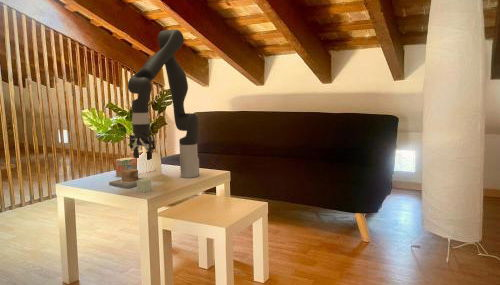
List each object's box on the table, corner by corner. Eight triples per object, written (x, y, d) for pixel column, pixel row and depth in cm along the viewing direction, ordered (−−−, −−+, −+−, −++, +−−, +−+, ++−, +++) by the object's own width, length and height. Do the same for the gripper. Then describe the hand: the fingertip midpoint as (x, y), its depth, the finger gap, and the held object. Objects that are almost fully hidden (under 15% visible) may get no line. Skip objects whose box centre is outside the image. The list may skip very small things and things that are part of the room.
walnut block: (131, 179, 196) (130, 169, 195) (138, 180, 193) (138, 170, 192) (122, 181, 191) (121, 171, 191) (129, 182, 188) (128, 172, 188)
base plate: (132, 179, 202) (132, 176, 202) (151, 182, 194) (151, 179, 194) (109, 185, 191) (109, 181, 190) (128, 188, 183) (127, 185, 183)
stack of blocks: (122, 178, 206) (121, 155, 204) (115, 176, 210) (114, 153, 208) (155, 171, 223) (154, 149, 221) (148, 169, 227) (147, 148, 225)
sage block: (144, 189, 182) (144, 178, 182) (151, 190, 180) (151, 179, 179) (137, 191, 179) (136, 180, 178) (143, 192, 176) (143, 181, 176)
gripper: (158, 122, 174) (160, 158, 176) (137, 121, 182) (138, 156, 184) (145, 124, 168) (146, 161, 170) (123, 122, 176) (125, 158, 178)
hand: (142, 158), depth 177 cm, fingers open, 8 cm apart
